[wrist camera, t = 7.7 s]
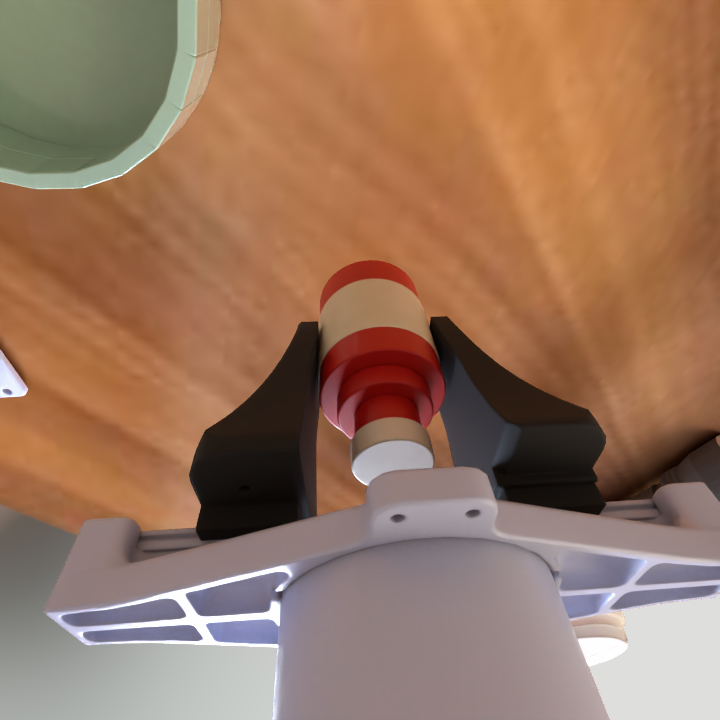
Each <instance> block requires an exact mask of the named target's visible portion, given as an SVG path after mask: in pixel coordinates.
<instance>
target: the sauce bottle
mask: <svg viewBox="0 0 720 720" xmlns="http://www.w3.org/2000/svg"><path fill="white" fill-rule="evenodd" d="M318 379H319V401H320V406H321V409H322V411H323V413H324V415H325V416H326V418H327V419H328V420H329V421H330V422H331V423H332V424H333V425H334V426H335V427H337V428H338V429H340V430H342V431H343V432H344V434H345V435H346V436H348V437H349V438H350V439H352V440H351V444H350V450H351V467H352V471H353V474H354V475H355V477H356V478H357V479H358V480H359V481H360V482H362V483H364V484H366V485H369V483H370V481H371V480H372V479H374V478H376V477H377V476H379V475H380V474H382V473H385V472H390V471H395V470H407V469H425V468H432V467H433V464H434V453H433V449H432V445H431V441H430V437H429V434H428V432H427V430H426V428H427V427H428V425H429V424H430V422H431V420H432V417H433V416H434V415H435V414H436V413H437V412H438V410H439V409H440V407H441V405H442V403H443V401H444V397H445V393H446V383H445V379H444V376H443V373H442V369H441V366H440V359H439V355H438V352H437V349H436V346H435V343H434V340H433V337H432V334H431V331H430V328H429V325H428V322H427V319H426V315H425V312H424V309H423V307H422V304H421V302H420V301H419V298H418V295H417V292H416V289H415V286H414V284H413V282H412V281H411V279H410V278H409V276H408V275H407V274H406V273H405V272H403V271H402V270H401V269H399V268H398V267H396V266H394V265H392V264H389V263H386V262H382V261H373V260H368V261H360V262H356V263H353V264H350V265H348V266H346V267H344V268H342V269H341V270H339V271H338V272H337V273H335V274H334V275H333V276H332V277H331V278H330V279H329V281H328V282H327V284H326V285H325V287H324V289H323V292H322V295H321V300H320V318H319V355H318Z"/></svg>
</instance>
